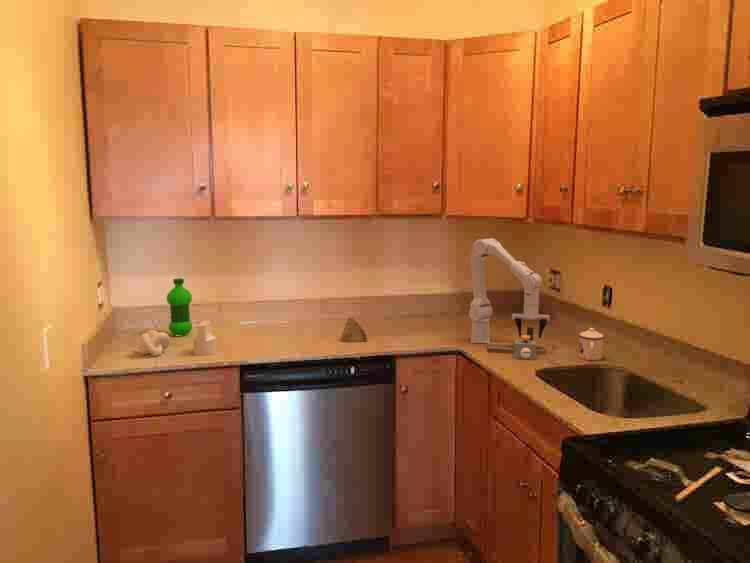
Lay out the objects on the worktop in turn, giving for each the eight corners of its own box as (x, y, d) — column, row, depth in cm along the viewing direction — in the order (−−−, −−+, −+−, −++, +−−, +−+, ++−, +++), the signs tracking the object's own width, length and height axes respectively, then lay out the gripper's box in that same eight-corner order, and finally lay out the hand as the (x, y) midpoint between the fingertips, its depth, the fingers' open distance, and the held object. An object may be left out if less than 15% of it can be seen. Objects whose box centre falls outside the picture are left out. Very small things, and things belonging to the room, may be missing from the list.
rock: (373, 334, 271) (354, 328, 276) (368, 321, 265) (349, 315, 270) (360, 353, 265) (341, 346, 270) (355, 340, 259) (336, 334, 264)
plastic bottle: (168, 333, 281) (165, 278, 277) (193, 331, 285) (190, 277, 281) (168, 338, 272) (165, 281, 268) (193, 336, 275) (191, 280, 271)
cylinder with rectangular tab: (213, 355, 245) (212, 325, 243) (190, 355, 245) (189, 325, 243) (219, 349, 254) (218, 320, 252) (197, 349, 254) (196, 320, 252)
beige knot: (129, 355, 245) (128, 333, 244) (153, 348, 255) (152, 327, 254) (150, 359, 240) (149, 336, 238) (174, 352, 250) (173, 330, 249)
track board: (487, 346, 260) (487, 342, 260) (542, 348, 257) (542, 345, 256) (487, 352, 251) (488, 348, 251) (544, 354, 248) (544, 350, 248)
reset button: (520, 340, 245) (520, 334, 245) (529, 341, 245) (529, 335, 244) (520, 343, 242) (521, 336, 241) (530, 343, 241) (530, 337, 241)
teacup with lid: (577, 353, 250) (579, 324, 248) (602, 355, 247) (603, 326, 245) (578, 361, 238) (579, 331, 237) (603, 363, 236) (605, 333, 234)
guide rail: (489, 345, 256) (489, 342, 256) (541, 347, 253) (542, 344, 253) (489, 346, 255) (489, 343, 254) (542, 348, 251) (542, 345, 251)
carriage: (521, 344, 256) (522, 325, 255) (536, 345, 255) (537, 326, 254) (522, 348, 250) (523, 329, 249) (537, 348, 249) (538, 329, 248)
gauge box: (513, 354, 248) (514, 339, 247) (534, 355, 247) (535, 340, 246) (514, 359, 241) (515, 344, 240) (536, 360, 240) (536, 344, 239)
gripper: (513, 305, 247) (512, 338, 249) (551, 306, 245) (549, 340, 247) (512, 302, 254) (511, 334, 256) (549, 303, 252) (547, 336, 254)
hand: (529, 337), depth 252 cm, fingers open, 7 cm apart
